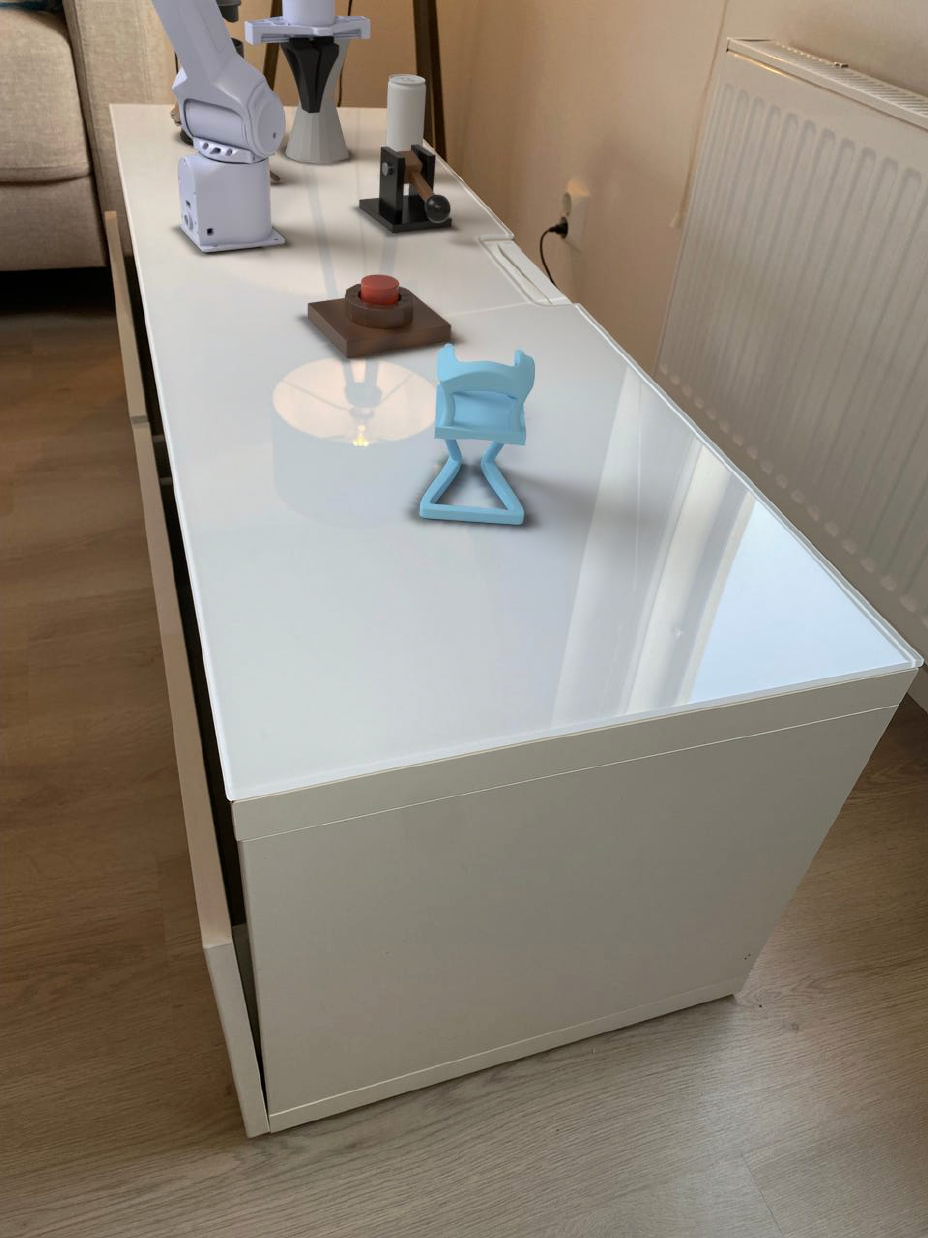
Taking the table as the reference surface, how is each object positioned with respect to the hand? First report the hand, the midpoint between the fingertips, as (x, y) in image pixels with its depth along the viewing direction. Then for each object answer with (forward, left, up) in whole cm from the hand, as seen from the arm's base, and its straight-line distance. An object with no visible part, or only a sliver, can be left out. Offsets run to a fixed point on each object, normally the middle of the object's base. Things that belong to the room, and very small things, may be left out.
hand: (310, 110), depth 117 cm
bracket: (+9, -8, -10) cm, 16 cm away
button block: (-8, -35, -10) cm, 38 cm away
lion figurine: (-6, +13, -11) cm, 18 cm away
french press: (-2, +28, -11) cm, 30 cm away
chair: (-14, -63, -11) cm, 66 cm away
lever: (+9, -12, -7) cm, 16 cm away
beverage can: (+16, +6, -11) cm, 20 cm away
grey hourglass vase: (+9, +18, -11) cm, 22 cm away
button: (-8, -35, -7) cm, 37 cm away
